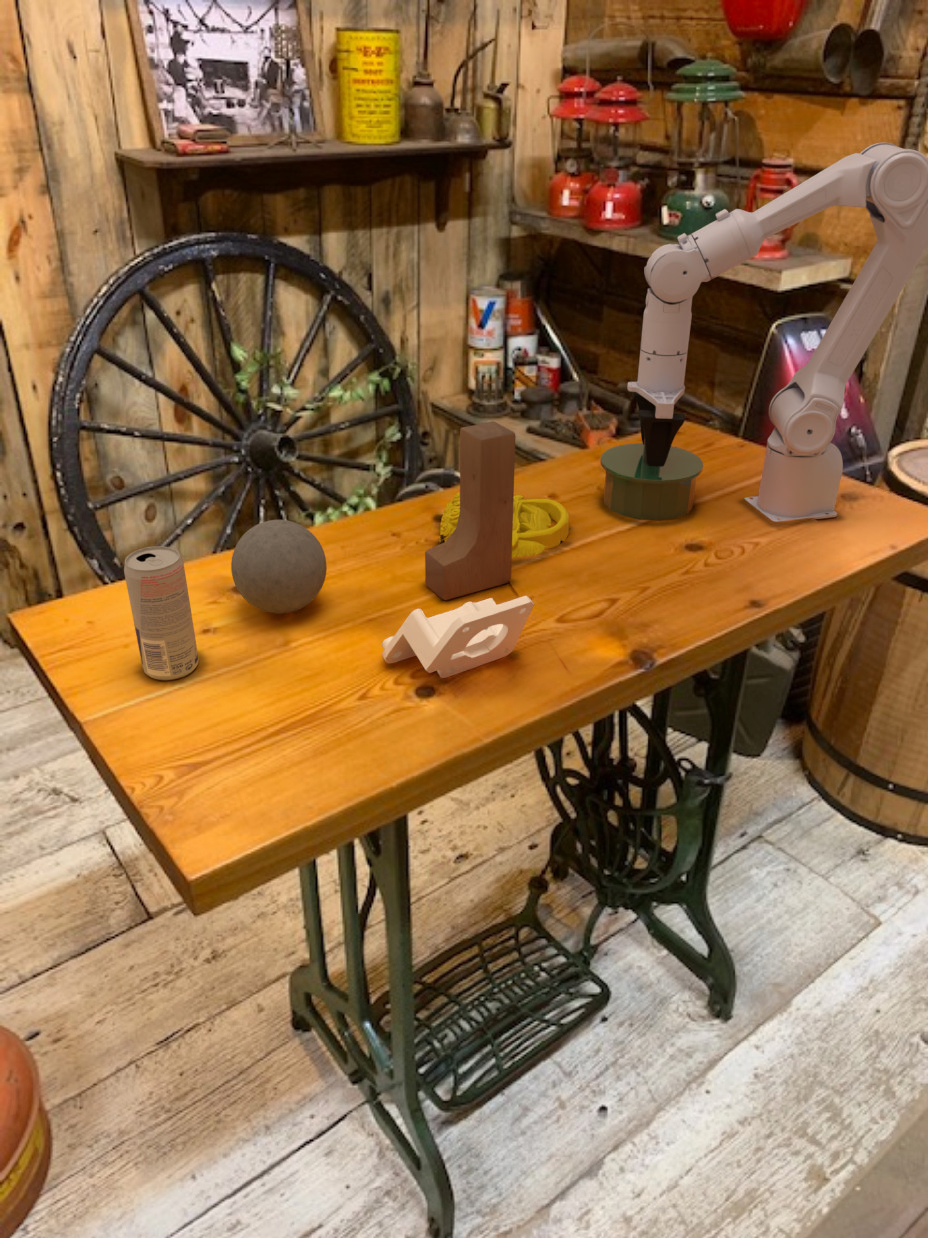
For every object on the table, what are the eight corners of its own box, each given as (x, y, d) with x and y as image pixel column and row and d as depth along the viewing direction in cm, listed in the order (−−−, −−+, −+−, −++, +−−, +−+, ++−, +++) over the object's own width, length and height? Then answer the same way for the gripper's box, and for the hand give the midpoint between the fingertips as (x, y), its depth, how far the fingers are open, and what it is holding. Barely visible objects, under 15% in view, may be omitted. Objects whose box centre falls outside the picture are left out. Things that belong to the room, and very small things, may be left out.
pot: (667, 485, 138) (672, 445, 135) (707, 518, 128) (713, 476, 125) (590, 493, 135) (593, 452, 132) (624, 528, 125) (628, 485, 122)
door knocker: (591, 539, 123) (593, 508, 121) (491, 574, 114) (492, 541, 112) (506, 496, 134) (507, 467, 132) (409, 526, 126) (409, 495, 123)
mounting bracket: (404, 702, 95) (427, 635, 87) (375, 653, 98) (394, 584, 90) (506, 666, 101) (535, 600, 93) (475, 620, 104) (501, 552, 96)
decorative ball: (309, 636, 102) (302, 549, 97) (221, 624, 104) (209, 539, 99) (342, 591, 111) (336, 509, 106) (259, 581, 113) (250, 500, 108)
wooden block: (443, 602, 109) (442, 447, 99) (424, 585, 112) (421, 433, 103) (512, 583, 112) (517, 432, 103) (491, 567, 116) (494, 419, 107)
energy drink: (177, 646, 100) (159, 540, 94) (210, 664, 97) (194, 556, 91) (132, 668, 97) (110, 559, 91) (165, 688, 94) (145, 577, 88)
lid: (674, 446, 136) (678, 415, 134) (720, 482, 125) (725, 448, 123) (585, 455, 133) (587, 423, 130) (624, 493, 122) (627, 458, 119)
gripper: (627, 333, 127) (618, 434, 134) (635, 365, 115) (625, 474, 122) (682, 335, 127) (670, 435, 134) (696, 366, 114) (682, 476, 121)
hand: (652, 454), depth 128 cm, fingers open, 7 cm apart
